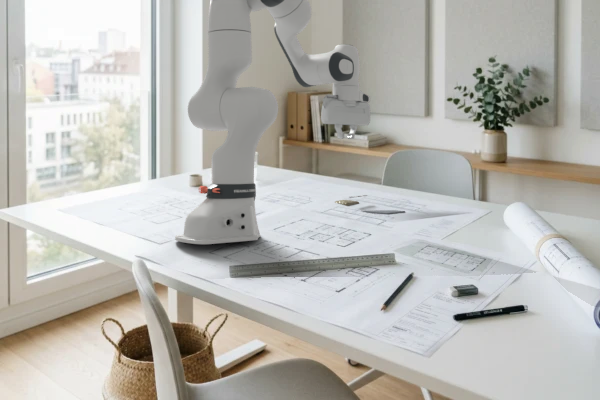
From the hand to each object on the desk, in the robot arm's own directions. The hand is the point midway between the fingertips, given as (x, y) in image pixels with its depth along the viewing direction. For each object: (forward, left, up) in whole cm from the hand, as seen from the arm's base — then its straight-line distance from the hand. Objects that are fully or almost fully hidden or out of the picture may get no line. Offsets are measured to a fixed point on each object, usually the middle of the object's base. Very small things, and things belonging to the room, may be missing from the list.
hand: (346, 138), depth 197 cm
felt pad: (+1, -15, -23) cm, 28 cm away
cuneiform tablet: (0, -6, -21) cm, 22 cm away
